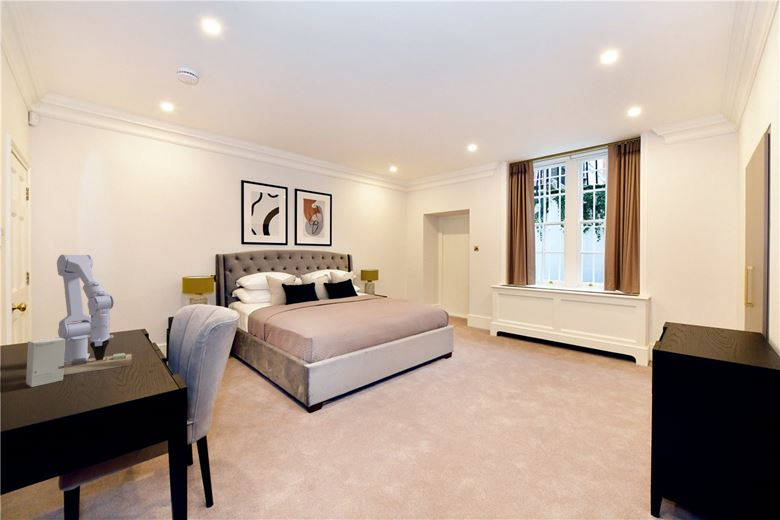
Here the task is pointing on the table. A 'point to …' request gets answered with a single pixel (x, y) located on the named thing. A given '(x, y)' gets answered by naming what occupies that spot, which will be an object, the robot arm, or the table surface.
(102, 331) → the robot arm
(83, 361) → the key charcoal
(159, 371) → the table surface
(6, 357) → the table surface
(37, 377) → the skincare box
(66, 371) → the keypad
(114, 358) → the key sage
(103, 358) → the key terracotta
